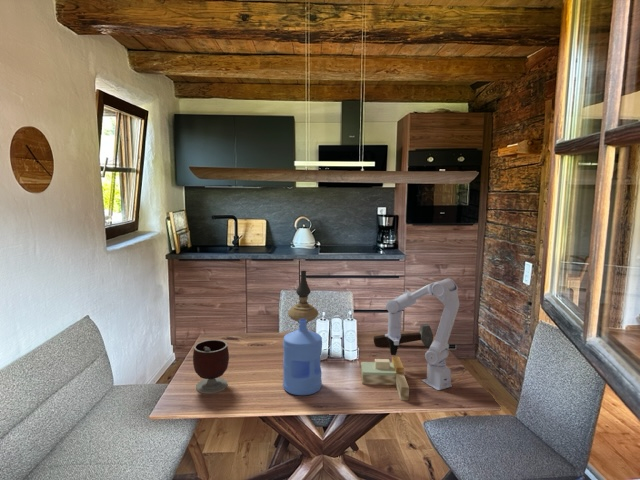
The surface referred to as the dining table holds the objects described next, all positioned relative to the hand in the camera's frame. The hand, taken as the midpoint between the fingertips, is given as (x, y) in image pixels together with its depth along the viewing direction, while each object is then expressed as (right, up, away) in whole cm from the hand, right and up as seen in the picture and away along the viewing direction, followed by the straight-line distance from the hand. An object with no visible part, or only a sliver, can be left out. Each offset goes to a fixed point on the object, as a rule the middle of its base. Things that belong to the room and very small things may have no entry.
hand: (393, 354), depth 182 cm
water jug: (-40, -8, -17) cm, 45 cm away
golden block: (0, -2, -11) cm, 11 cm away
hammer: (+10, -3, +27) cm, 29 cm away
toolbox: (-7, -8, -16) cm, 19 cm away
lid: (-7, -4, -10) cm, 13 cm away
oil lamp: (-41, -3, +19) cm, 46 cm away
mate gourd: (-77, -8, -19) cm, 79 cm away
